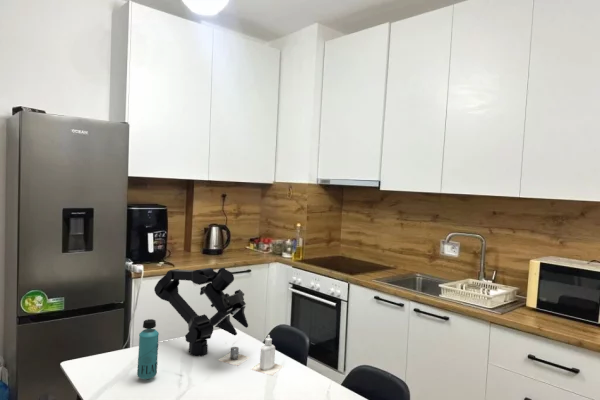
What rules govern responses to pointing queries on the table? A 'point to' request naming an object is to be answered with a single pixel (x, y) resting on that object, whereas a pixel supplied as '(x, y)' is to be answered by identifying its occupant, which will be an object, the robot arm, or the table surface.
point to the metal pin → (234, 353)
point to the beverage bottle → (148, 350)
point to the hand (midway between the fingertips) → (241, 330)
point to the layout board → (256, 368)
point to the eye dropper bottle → (267, 355)
